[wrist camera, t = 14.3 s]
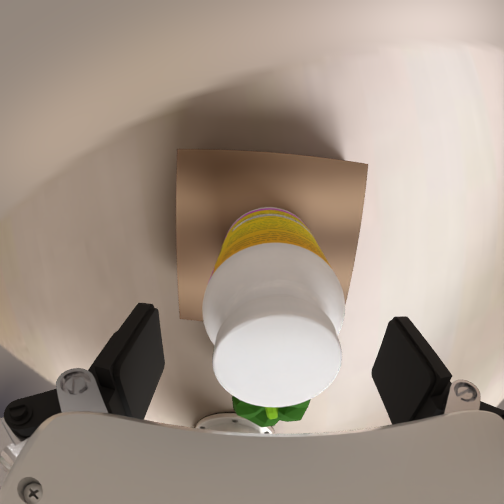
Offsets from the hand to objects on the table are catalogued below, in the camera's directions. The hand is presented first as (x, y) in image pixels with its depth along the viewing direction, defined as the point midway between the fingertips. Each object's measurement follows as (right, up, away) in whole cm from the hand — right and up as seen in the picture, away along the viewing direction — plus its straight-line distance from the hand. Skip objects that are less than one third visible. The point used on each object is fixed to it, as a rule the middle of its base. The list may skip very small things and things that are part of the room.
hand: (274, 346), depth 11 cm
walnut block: (0, +6, +17) cm, 18 cm away
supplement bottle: (0, +4, +11) cm, 12 cm away
